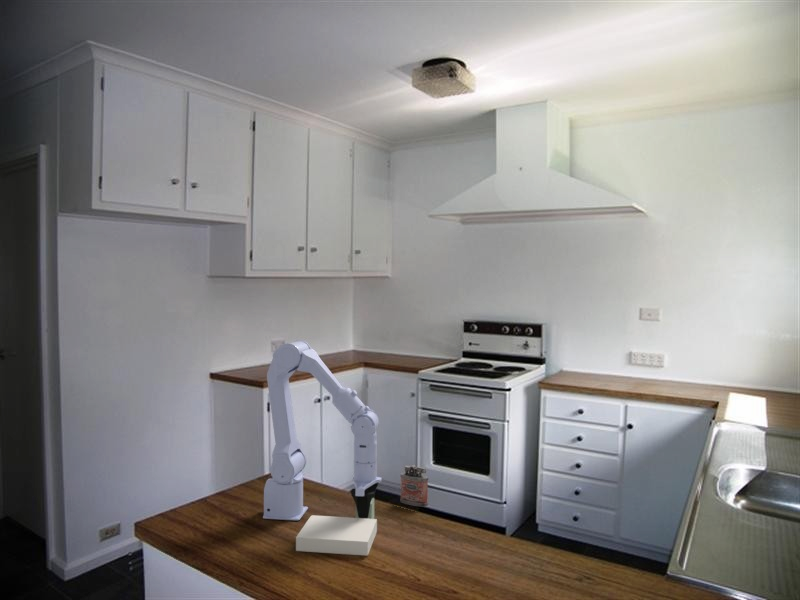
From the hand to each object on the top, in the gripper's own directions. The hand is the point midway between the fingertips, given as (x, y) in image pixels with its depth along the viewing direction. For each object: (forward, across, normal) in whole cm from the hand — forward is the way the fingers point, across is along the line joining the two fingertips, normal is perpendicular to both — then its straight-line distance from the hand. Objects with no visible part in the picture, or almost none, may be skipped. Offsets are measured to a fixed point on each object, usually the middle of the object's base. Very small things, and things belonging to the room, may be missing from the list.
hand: (365, 514), depth 138 cm
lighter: (+2, +13, -11) cm, 17 cm away
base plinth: (+1, -12, +4) cm, 13 cm away
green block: (+1, 0, 0) cm, 1 cm away
